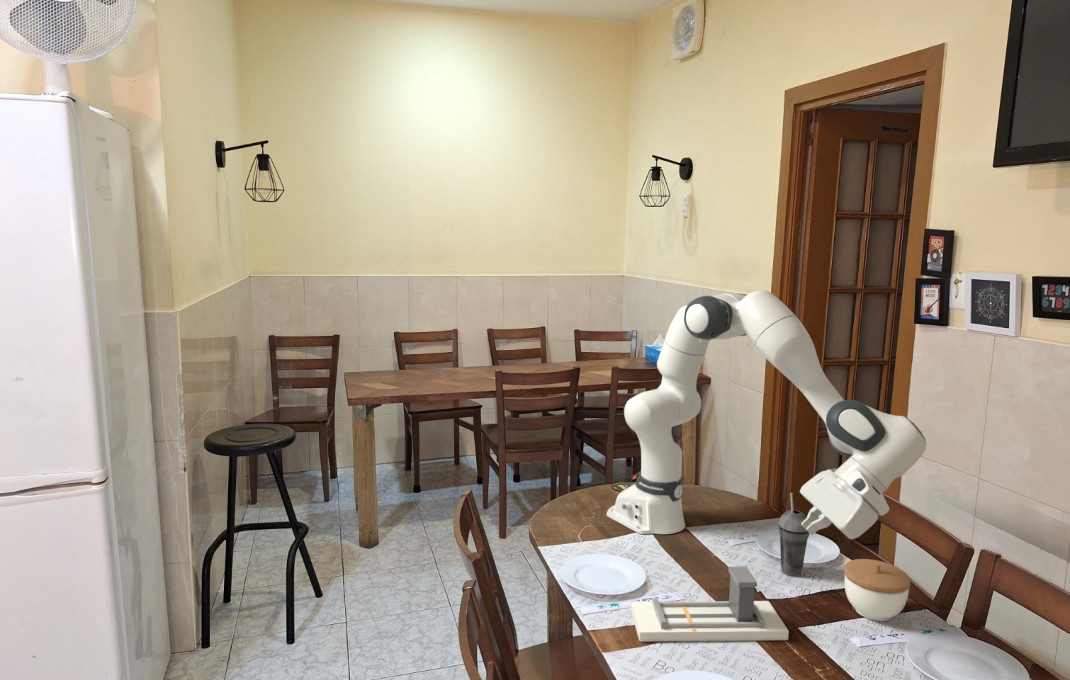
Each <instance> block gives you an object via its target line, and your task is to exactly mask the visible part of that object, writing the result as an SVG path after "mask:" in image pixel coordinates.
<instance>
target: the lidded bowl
mask: <svg viewBox="0 0 1070 680" xmlns="http://www.w3.org/2000/svg"><path fill="white" fill-rule="evenodd" d="M843 571H844V581H843V582H844V591H845V594H846V598H847V600H848V601H849V603H850V605H852V607H853V608H854V610H855V612H856V613H858V615H860V616H862V617H863V618H865V619H868V620H871V621H876V622H886V621H889V620H891V619H892V618H894V617H896V616H898V615H900V614H899V613H901V612H902V611H903V610H904V608H905V606H906V603H907V600H908V597H909V592H910V590H909V589H910V587H911V578H910V577H909V575H908V574H907V573H906V571H904V570H903V569H901V568H899V567H897V566H895V565H892V564H891V563H888V562H884V561H881V560H877V559H870V558H869V559H868V558H857V559H856V558H855V559H852V560H848V561H847V562H846V564H845V565H844V568H843Z"/></svg>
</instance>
